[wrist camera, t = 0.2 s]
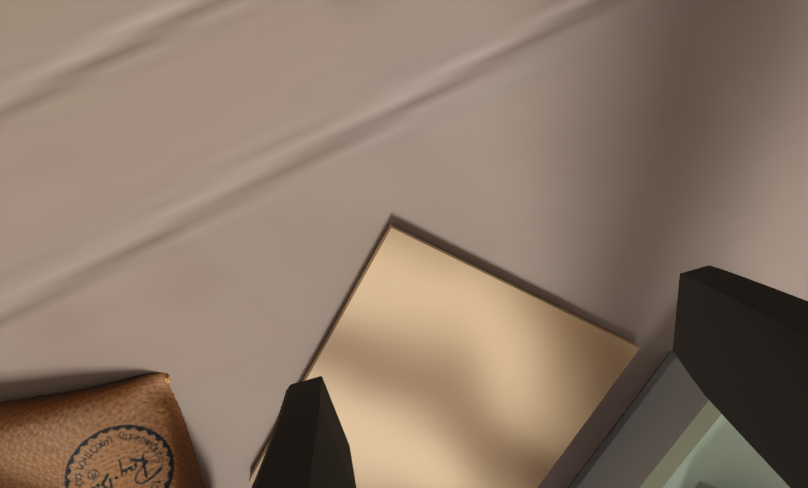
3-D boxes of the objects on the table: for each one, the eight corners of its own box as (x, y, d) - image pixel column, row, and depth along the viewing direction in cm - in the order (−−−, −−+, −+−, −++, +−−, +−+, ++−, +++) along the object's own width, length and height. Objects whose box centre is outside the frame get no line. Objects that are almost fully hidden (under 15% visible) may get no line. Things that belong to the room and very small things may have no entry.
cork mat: (487, 544, 27) (490, 551, 26) (250, 474, 23) (248, 481, 22) (634, 344, 24) (639, 348, 23) (390, 224, 20) (391, 227, 19)
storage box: (689, 551, 29) (729, 603, 27) (555, 505, 26) (583, 558, 24) (805, 417, 27) (861, 458, 24) (671, 350, 24) (717, 388, 21)
